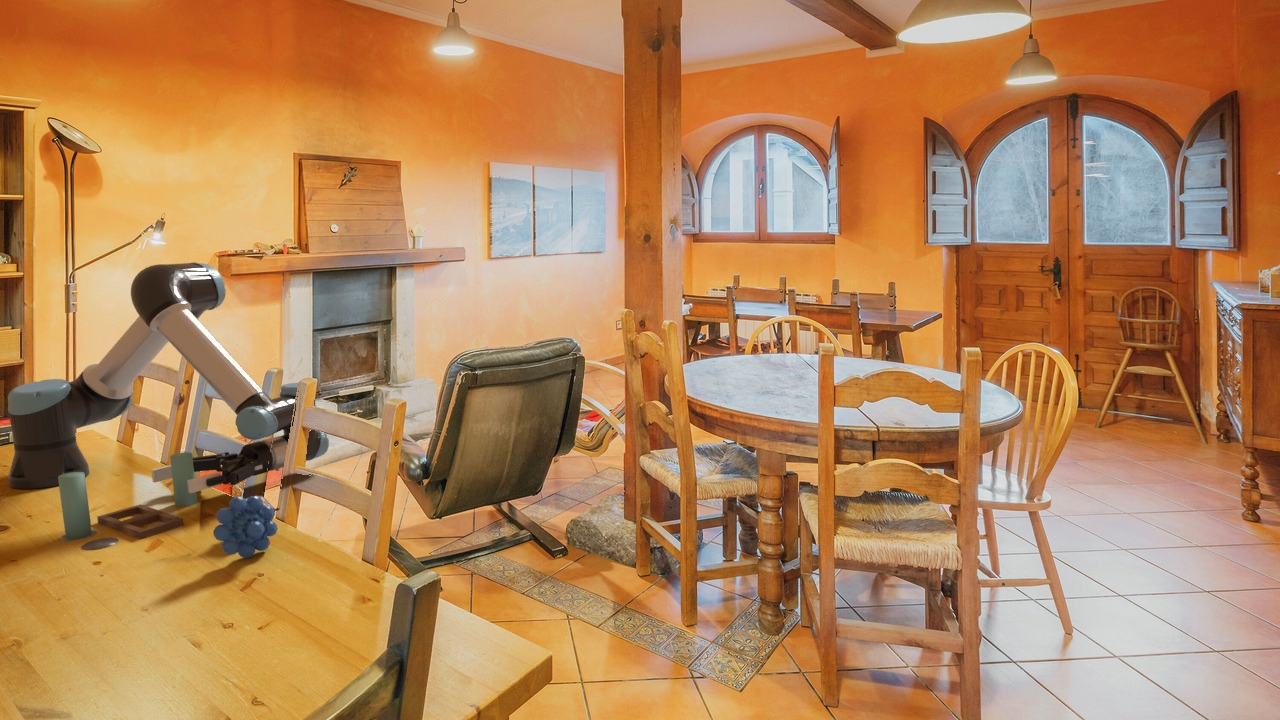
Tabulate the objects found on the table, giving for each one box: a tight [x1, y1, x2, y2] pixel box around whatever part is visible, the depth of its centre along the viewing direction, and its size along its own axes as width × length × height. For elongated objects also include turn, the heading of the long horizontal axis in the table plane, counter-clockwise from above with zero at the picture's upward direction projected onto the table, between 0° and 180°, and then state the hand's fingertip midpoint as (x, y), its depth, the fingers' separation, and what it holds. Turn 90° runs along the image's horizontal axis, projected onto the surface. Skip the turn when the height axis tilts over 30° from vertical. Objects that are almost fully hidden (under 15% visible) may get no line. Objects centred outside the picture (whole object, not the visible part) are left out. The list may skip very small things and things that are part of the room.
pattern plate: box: [60, 529, 119, 551], centre depth 140 cm, size 16×8×1 cm, turn 60°
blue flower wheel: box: [213, 495, 278, 559], centre depth 133 cm, size 12×7×12 cm, turn 150°
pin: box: [58, 472, 93, 539], centre depth 140 cm, size 4×4×12 cm
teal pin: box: [169, 451, 198, 508], centre depth 157 cm, size 4×4×12 cm
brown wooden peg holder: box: [96, 503, 185, 540], centre depth 147 cm, size 16×8×2 cm, turn 60°
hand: (170, 481), depth 155 cm, fingers open, 13 cm apart
